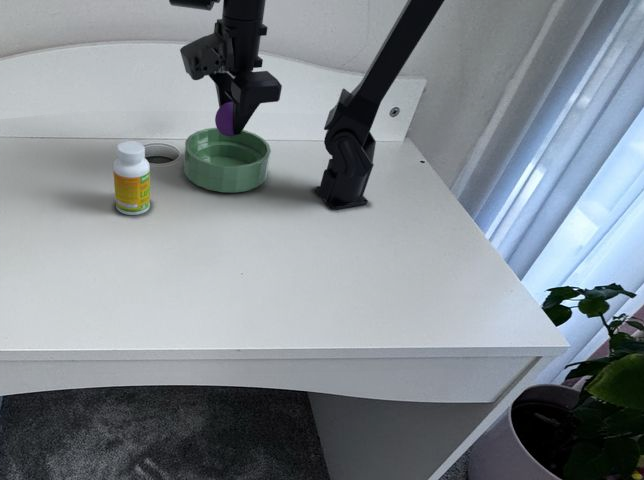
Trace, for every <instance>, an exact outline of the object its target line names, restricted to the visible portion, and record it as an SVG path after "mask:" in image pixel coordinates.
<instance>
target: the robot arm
mask: <svg viewBox="0 0 644 480" xmlns="http://www.w3.org/2000/svg"><path fill="white" fill-rule="evenodd" d="M445 1H446V0H407V1H406V3H405V5H404V7H403V8H402V10H401V12H400V13H399V15H398V17H397V19H396V20H395V21H394V24H393V26H392V27H391V29H390V31H389V32H388V34H387V36H386V37H385V39H384V41H383V42H382V45H381V47H380V48H379V49H378V51H377V53H376V55H375V57H374V58H373V60H372V62H371V63H370V65H369V66H368V69H367V70H366V72H365V74H364V76H363V77H362V79H361V81H360V82H359V83H358V84H357V86H356V87H355V88H354V89H353V90H352V91H351V92H350V91H348V90H347V89H346V88H344V87H343V88H342V89H341V92H340V95H339V98H338V100H337V102H336V103H335V105H334V107H332V108H331V109H330V110H329V113H328V116H327V118H326V121H325V124H324V127H323V130H324V131H326V133H325V136H324V141H323V144H324V147H325V150H326V151H327V153H328V154H329V155H330V156H331V158H329V160H328V162H327V167H326V169H324V171H323V174H322V177H321V181H320V184H319V186H315V189H314V191H315V192H316V193H317V194H318V195H319V196H320V197H321V198H322V199H323V201H325V202H326V203H327V204H328V205H329V207H331V209H333V210H340V209H341V210H342V209H346V208H352V207H358V206H365V205H368V203H369V200H368V199H367V198H366V197H365V196H364V194H365V191H366V188H367V185H368V182H369V179H370V176H371V174H372V170H373V167H374V156H375V151H376V145H377V141H376V139H375V137H374V136H373V134H372V133H371V129H372V126H373V125H374V121H375V119H376V117H377V115H378V111H379V108H380V106H381V103H382V102H383V100H384V98H385V96H386V95H387V93H388V91H389V90H390V88H391V87H392V85H393V84H394V82H395V81H396V79H397V77H398V76H399V74H400V72H401V71H402V69H403V68H404V66H405V64H406V63H407V62H408V60H409V58H410V56H411V55H412V54H413V52H414V50H415V49H416V47H417V45H418V44H419V42H420V41H421V39H422V37H423V36H424V34H425V33H426V31H427V29H428V28H429V26H430V25H431V23H432V21H433V20H434V18H435V17H436V15H437V13H438V12H439V10H440V9H441V7H442V5H443V4H444V2H445ZM168 2H169V5H170V6H172V7H179V8H187V9H194V10H201V11H212V9H213V7H214V6H215V4H218V3H221V0H168ZM265 7H266V0H223V2H222V14H221V18H217V19H216V22H214V26H213V32H212V33H211V34H208V35H204V36H202V37H199V38H197V39H195V40H193V41H191V42H189V43H187V44H185V45H184V46H182V47H180V49H179V52H180V56H181V60H182V63H183V66H184V70H185V73H186V74H188V75H189V77H190V78H191V79H192V80H193V81H200V80H202V79H204V77H205V76H208V77H209V78H210V79H211V81H213V82H214V86H215V90H216V95H217V103H218V109H219V108H220V107H221V106H222V105H223V104H225V103H228V102H232V112H233V134H234V135H239V134H240V133H241V132H242V130H245V127H247V126H246V125H247V124H248V123H249V121H250V119H251V118H252V116H253V115H254V113H255V112H256V110H257V109H258V108H259V106H260V105H261V104H267V103H278V102H279V101H280V100H281V94H282V88H283V85H282V84H281V83H280V81H279V79H278V78H276V77H275V76H274V75H273V74H271V73H270V72H269V71H268V70H261V71H259V70H258V71H254V69H258V68H259V69H260V68H263V61H264V60H263V58H262V57H260V56H259V51H260V44H261V38H262V37H263V36H267V34H268V26H267V25H265V24H264V23H263V22H264V15H265Z"/></svg>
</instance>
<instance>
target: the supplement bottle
mask: <svg viewBox="0 0 644 480" xmlns="http://www.w3.org/2000/svg"><path fill="white" fill-rule="evenodd" d="M116 156H117V158H116V159H115V160H114V162H113V183H114V185H113V186H114V199H115V200H114V201H115V202H114V203H115V207H116V209H117V211H118V212H120V213H122V214H124V215H127V216H138V215H142V214H144V213H147V212H148V210H149V209H150V207H151V165H150V163H149V160H148V159H147V158H145V157H146V147H145V145H144V144H143V143H141V142H139V141H134V140H126V141H123V142H120V143H118V144H117V146H116Z"/></svg>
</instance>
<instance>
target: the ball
mask: <svg viewBox="0 0 644 480" xmlns="http://www.w3.org/2000/svg"><path fill="white" fill-rule="evenodd" d="M214 122H215V128H217V129H218V130H219V132H220V133H222V134H223V135H225V136H235V135H234V134H233V112H232V102H228V103H225V104H223V105H222V106H221V107H220V108H219V107H218V109H217V111H216V113H215V117H214Z"/></svg>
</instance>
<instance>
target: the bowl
mask: <svg viewBox="0 0 644 480" xmlns="http://www.w3.org/2000/svg"><path fill="white" fill-rule="evenodd" d="M271 153H272V150H271V146H270V144H269V143H268V141H266V139H264V138H263V137H262V136H260V135H258V134H256V133H254V132H251V131H249V130H245V129H243V130H242V132H241V133H240V134H239V135H235V136H225V135H223V134H222V133H220V132H219V130H218V129H217V127H209V128H204V129H201V130H197V131H195V132H193V133H192V134H190V135H189V136H188V137H187V139H186V140H185V142H184V158H183V159H184V160H183V173H184V174H185V176H186V178H187V179H188V181H190V182H192V183H193V184H195V185H196V186H198V187H201V188H203V189H206V190H208V191H213V192H219V193H241V192H247V191H251V190H253V189H256V188H258V187H259V186H260V185H262V184H263V183H264V182H265V180H266V178H267V175H268V170H269V164H270V159H271Z"/></svg>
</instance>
